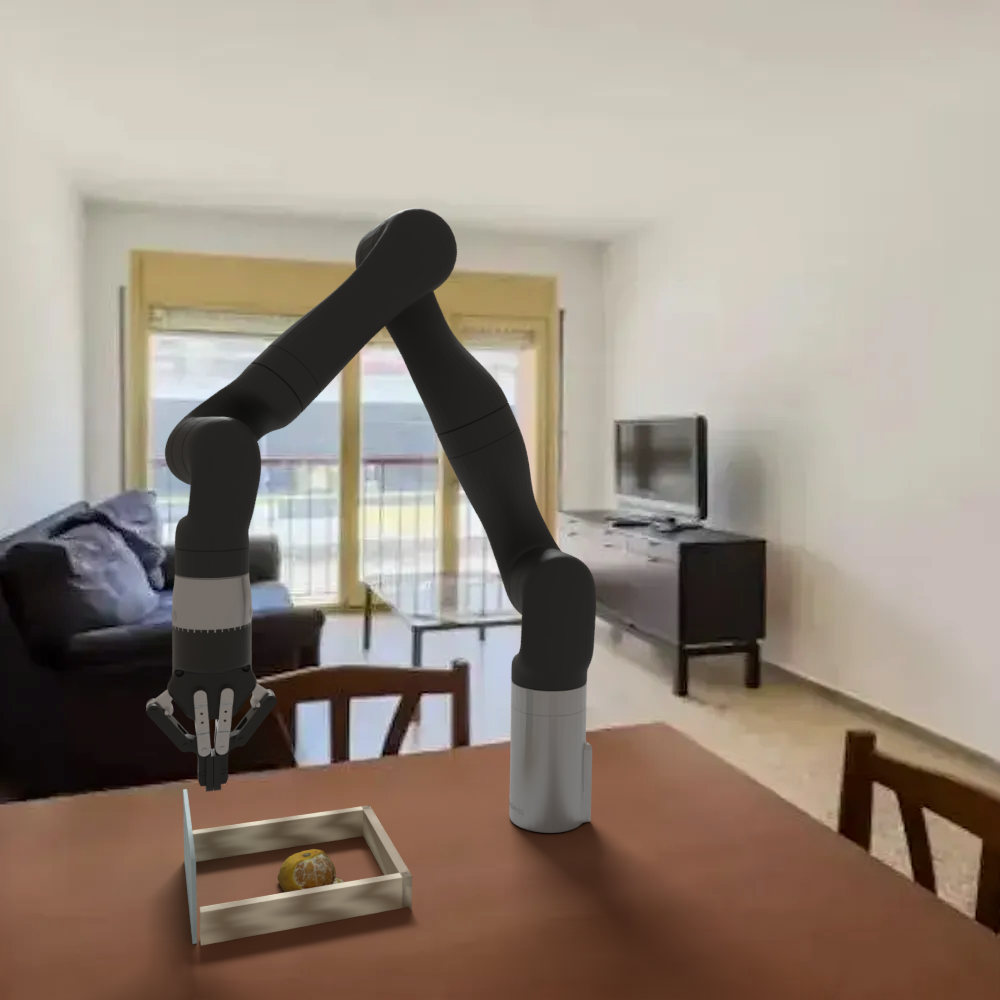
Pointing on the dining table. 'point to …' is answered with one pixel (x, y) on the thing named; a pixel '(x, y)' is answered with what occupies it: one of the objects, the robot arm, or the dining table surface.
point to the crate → (304, 903)
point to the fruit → (307, 871)
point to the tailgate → (190, 866)
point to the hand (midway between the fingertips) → (212, 788)
